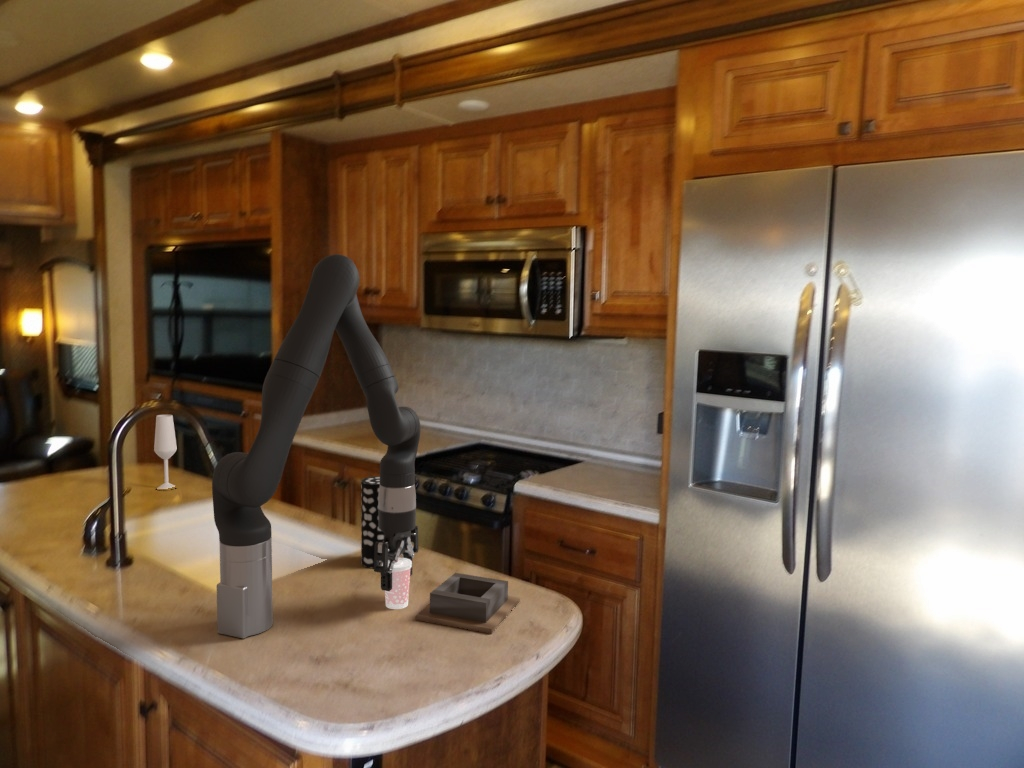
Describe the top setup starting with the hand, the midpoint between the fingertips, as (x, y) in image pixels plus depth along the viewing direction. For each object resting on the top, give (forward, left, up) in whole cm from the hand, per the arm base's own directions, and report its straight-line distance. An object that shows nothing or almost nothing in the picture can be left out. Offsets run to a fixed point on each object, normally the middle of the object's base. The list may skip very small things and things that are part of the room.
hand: (397, 582), depth 150 cm
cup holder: (+3, -15, -5) cm, 16 cm away
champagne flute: (+52, +114, -5) cm, 125 cm away
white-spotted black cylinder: (+20, +16, -5) cm, 26 cm away
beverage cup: (0, 0, -5) cm, 5 cm away
